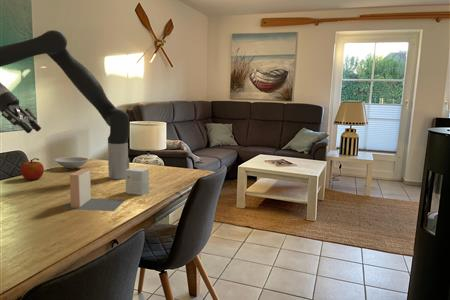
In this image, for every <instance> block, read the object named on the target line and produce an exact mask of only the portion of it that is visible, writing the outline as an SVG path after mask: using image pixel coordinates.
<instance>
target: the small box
mask: <svg viewBox="0 0 450 300" xmlns="http://www.w3.org/2000/svg"><path fill="white" fill-rule="evenodd" d="M125 193H126V194H130V195H132V194H133V195H138V196H144V195H148V194H150V169H149V168H144V167H129V169H126V170H125Z"/></svg>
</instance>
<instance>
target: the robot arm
mask: <svg viewBox="0 0 450 300" xmlns="http://www.w3.org/2000/svg"><path fill="white" fill-rule="evenodd" d="M67 45H68V40H67V37H66V36H65V35H64V34H63V33H62V32H61V31H58V30H54V29H53V30H47V31H46V32H44V33H42V34H41V35H38V36H37V37H34V38H30V39H28V40H27V39H26V40H24V41H20V42H16V43H11V44H6V45H2V46H0V68H1V67H5V66H9V65H13V64H14V63H17V62H20V61H23V60H26V59H29V58H32V57H35V56H39V55H45V54H46V55H47V56H48V57H49V58H50V59H51V60H52V61H53V62H55V63H56V64H57V66H58V67H59V68H60V69H61V70H62V72H63V73H64V74H65V76H66V77H67V78H68V79H69V80H70V81H71V83H72V85H74V86H75V88H76V89H77V90H78V91H79V92H80V94H81V95H82V96H84V98H85V99H86V100H87V101H88V102H89V103H90V104H91V105H92V106H93V107H94V109H96V110H97V112H98V113H99V114H100V116H101V117H102V118H103V119H102V120H103V121H104V122H105V124H107V126H109V131H110V132H109V135H108V137H107V155H108V156H107V157H108V158H107V161H108V162H107V164H108V166H107V167H108V172H107V173H108V179H111V180H126V178H125V170H126V169H129V168H130V158H129V149H128V147H129V143H128V142H129V141H128V140H129V136H130V116H129V114H128V113H127V112H126V111H124V110H123V109H118V108H117V107H116V106H115V105H114V104H113V103H112V102H111V101H110V99H109V98H108V96H107V95H106V93H105V91H104V89H103V86H102V85H101V83H100V81H99V80H98V79H97V78H96V76H95V75H94V74H93V73H92V72H91V71H90V70H89V69H88V68H87V67H85V66H84V65H83V64H82V63H81V62H80V61H78V60H77V59H75V57H74V56H73V55H72V54H71V53H70V52H69V50H68V49H67ZM0 112H1V114H0V115H1V116H2V117H3V118H5V120H7V121H8V122H9V123H11V124H12V125H13V126H18V127H20V128H21V129H22V130H24V132H25V133H26V134H30V133H31V132H32V131H33V130H34V131H36V132H39V131H41V129H42V127H41V125H39V124H38V123H37V122H36V120H37V119H38V118H37V116H35V115H34V113H33V112H32V111H31V110H30V108H28V107H26V108H23V107H21V106H20V99H19V98H18V97H17V96H16V95H15V94H13V93H12V91H10V89H8V87H6V86H5V85H4V84H2V82H0Z"/></svg>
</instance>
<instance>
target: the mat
mask: <svg viewBox="0 0 450 300" xmlns="http://www.w3.org/2000/svg"><path fill="white" fill-rule="evenodd" d="M125 201H126V199H119V198H118V199H114V198H93V197H91V200H90V201H88V202H87V203H86V204H84V205H83V206H81V207H80V208H71V202H70V203H68V204H67V205H65V206H64V207H62V208H61V209H62V210H80V211H81V210H82V211H101V212H103V211H105V212H115V211H116V210H117V209H118V208H119V207H120V206H121V205H122V204H124V202H125Z"/></svg>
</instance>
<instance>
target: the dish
mask: <svg viewBox="0 0 450 300" xmlns="http://www.w3.org/2000/svg"><path fill="white" fill-rule="evenodd" d="M89 161H90V158H88V157H83V156H67V157H58V158H54V162H56V163H57V164H58V165H60V166H62V167H64V168H67V169H68V168H70V169H71V170H75V168H81V167H82V166H84V165H85V164H86V163H88V162H89Z"/></svg>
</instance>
